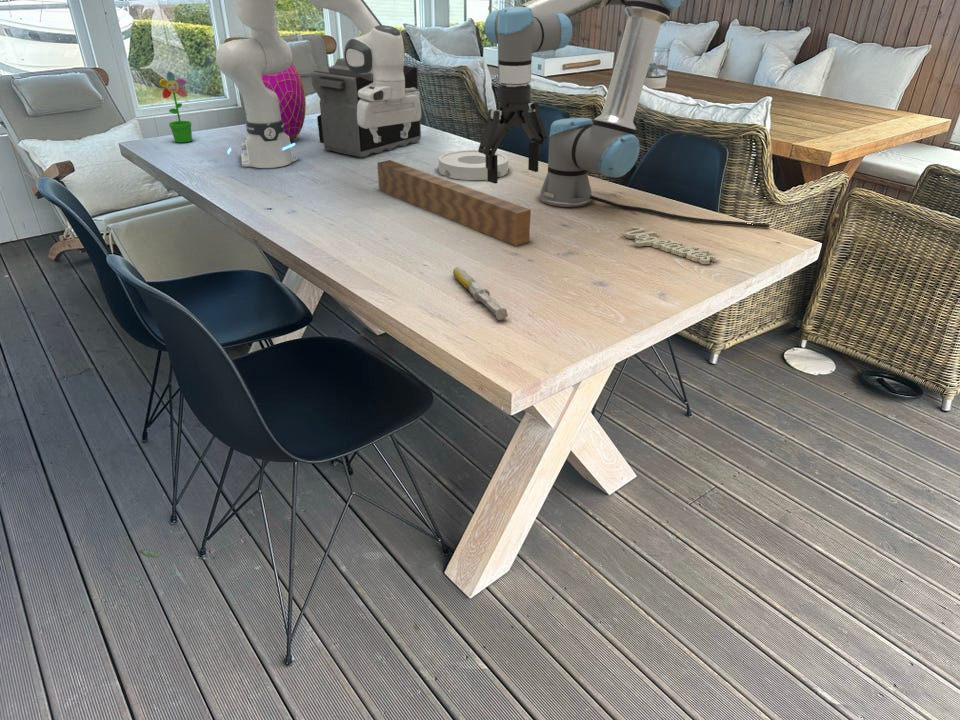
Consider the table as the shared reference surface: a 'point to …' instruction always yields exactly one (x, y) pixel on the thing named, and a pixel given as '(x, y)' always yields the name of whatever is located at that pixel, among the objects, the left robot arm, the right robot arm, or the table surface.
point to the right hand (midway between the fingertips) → (513, 176)
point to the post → (456, 202)
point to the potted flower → (178, 128)
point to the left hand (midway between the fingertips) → (391, 140)
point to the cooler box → (355, 112)
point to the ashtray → (469, 165)
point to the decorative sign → (669, 245)
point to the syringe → (479, 293)
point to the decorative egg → (289, 98)
